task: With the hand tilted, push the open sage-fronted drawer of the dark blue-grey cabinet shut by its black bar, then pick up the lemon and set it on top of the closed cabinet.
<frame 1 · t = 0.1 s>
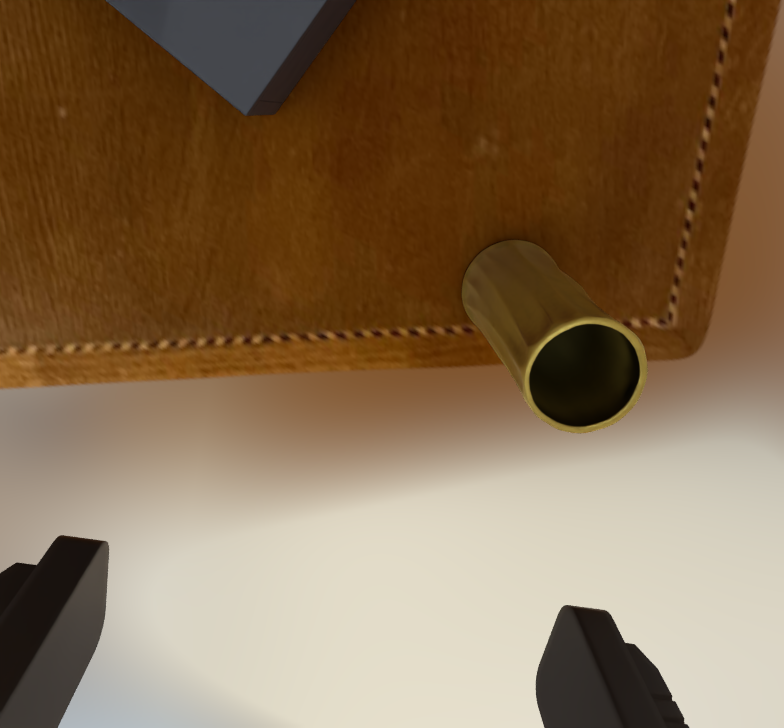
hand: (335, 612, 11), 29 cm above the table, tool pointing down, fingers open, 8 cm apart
vase: (509, 287, 40), on the table
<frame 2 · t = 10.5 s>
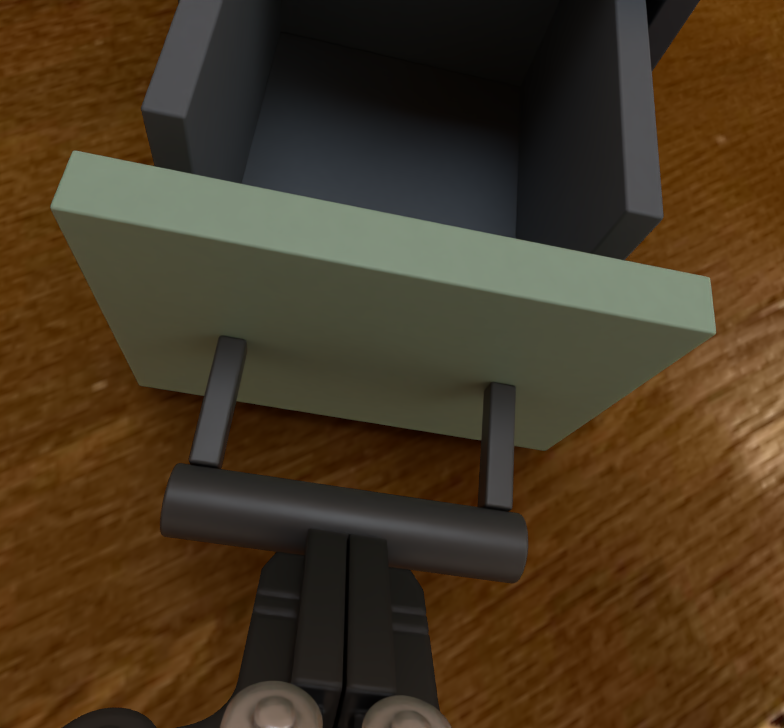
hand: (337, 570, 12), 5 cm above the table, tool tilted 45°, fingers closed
drawer: (392, 197, 16), point 5 cm above the table, slide at 7.9 cm, touching gripper
cabinet: (402, 36, 25), on the table
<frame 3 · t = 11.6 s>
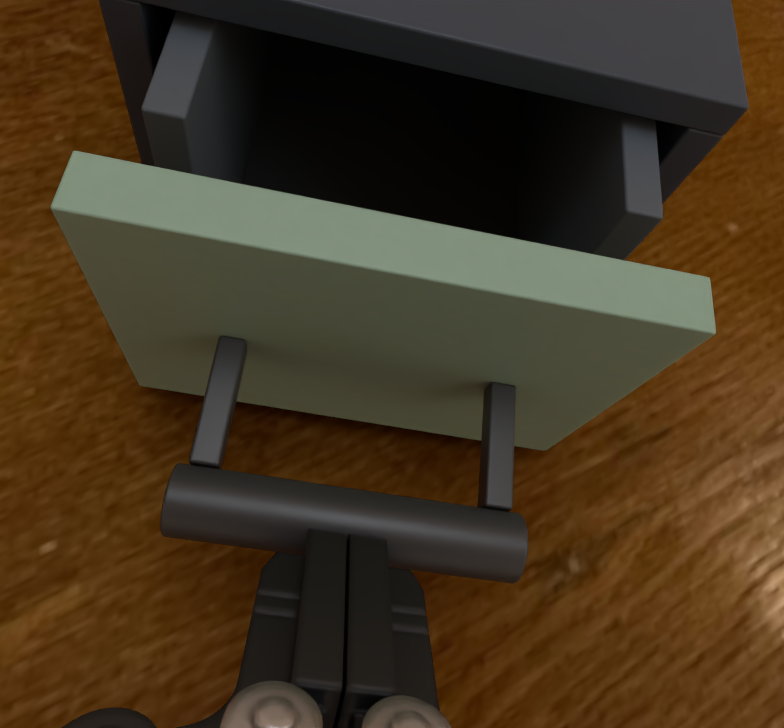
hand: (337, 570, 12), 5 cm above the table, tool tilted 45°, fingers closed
drawer: (392, 197, 16), point 5 cm above the table, slide at 3.5 cm, touching gripper
cabinet: (390, 120, 24), on the table
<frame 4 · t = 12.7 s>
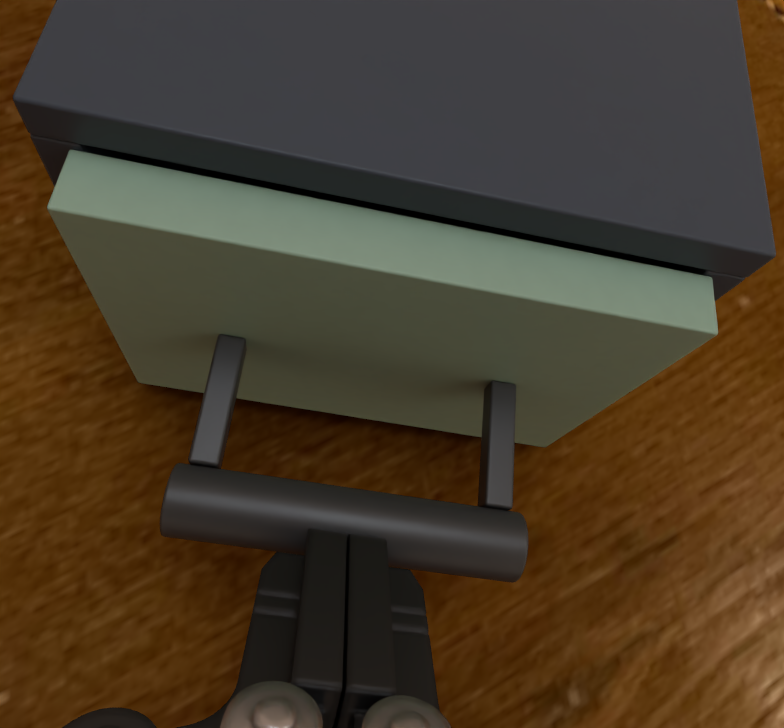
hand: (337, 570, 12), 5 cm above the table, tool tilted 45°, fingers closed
drawer: (392, 193, 16), point 5 cm above the table, slide at 0.0 cm, touching cabinet, gripper
cabinet: (379, 189, 22), on the table
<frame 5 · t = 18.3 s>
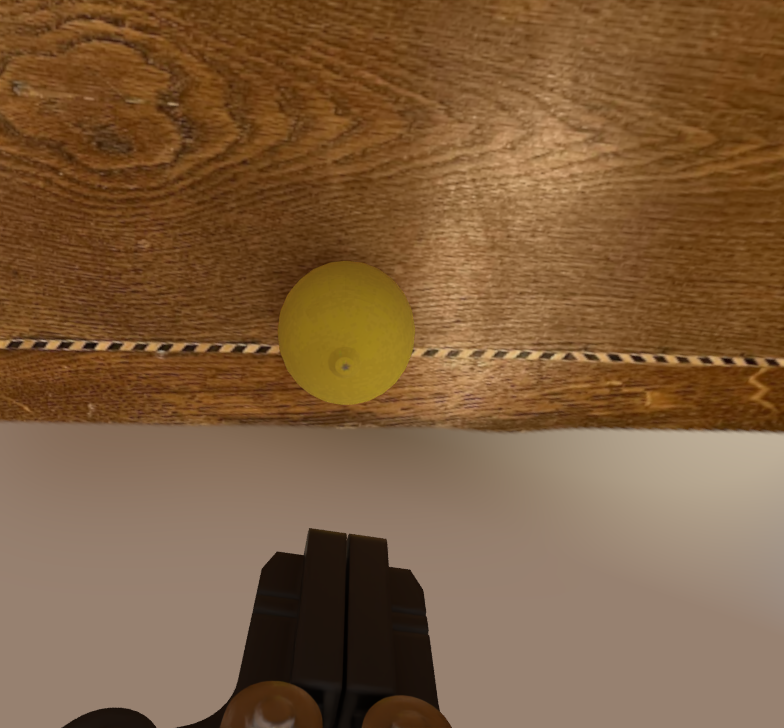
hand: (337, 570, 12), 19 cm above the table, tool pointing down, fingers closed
lemon: (348, 302, 30), on the table
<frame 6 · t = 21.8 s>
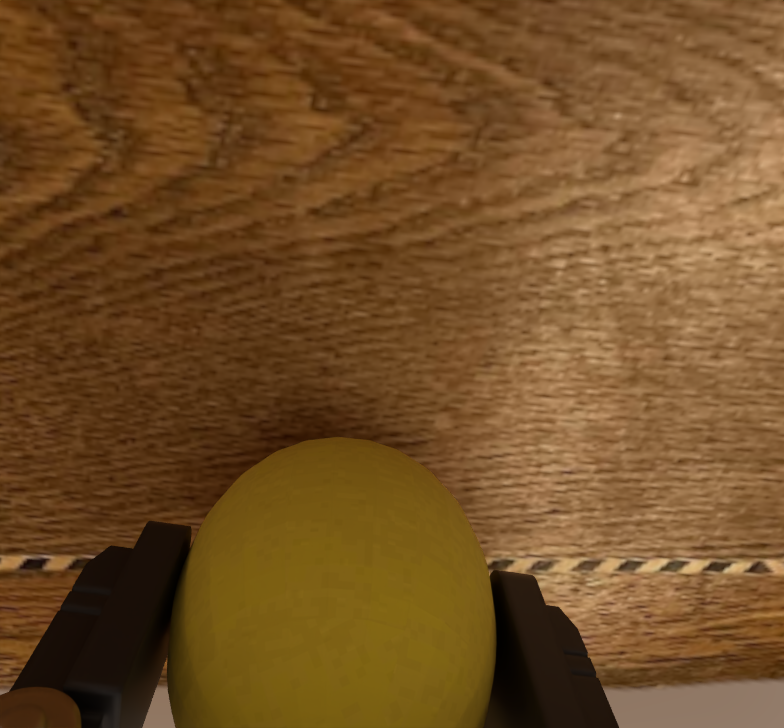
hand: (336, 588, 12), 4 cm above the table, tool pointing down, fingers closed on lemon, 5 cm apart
lemon: (342, 479, 15), on the table, touching gripper
when the fingers open (13 cm above the table, at t = 29.6 s): lemon stays where it is, resting on cabinet.
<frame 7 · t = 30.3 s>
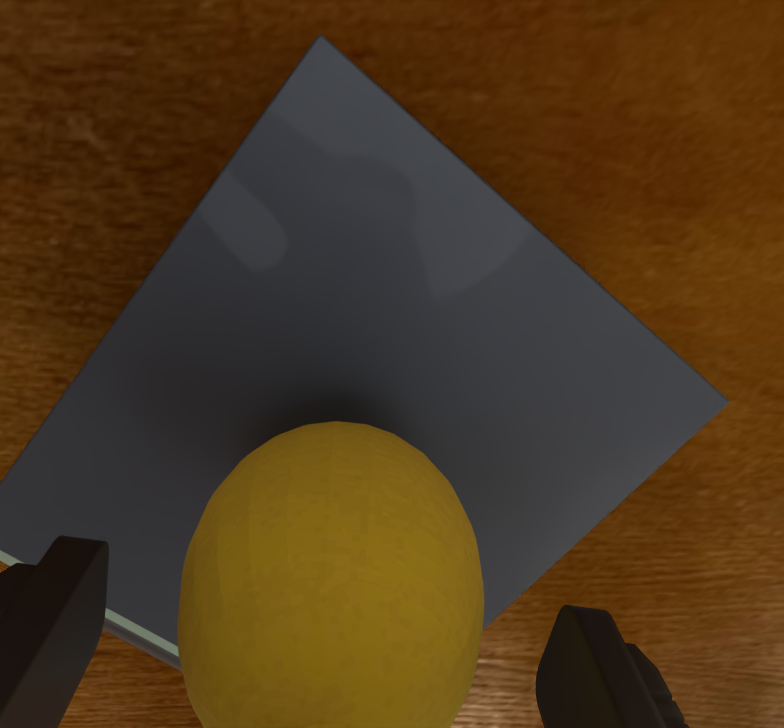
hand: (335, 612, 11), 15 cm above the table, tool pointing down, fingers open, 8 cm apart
lemon: (341, 465, 16), point 9 cm above the table, touching cabinet
drawer: (275, 473, 21), point 5 cm above the table, slide at 0.0 cm
cabinet: (349, 340, 25), on the table
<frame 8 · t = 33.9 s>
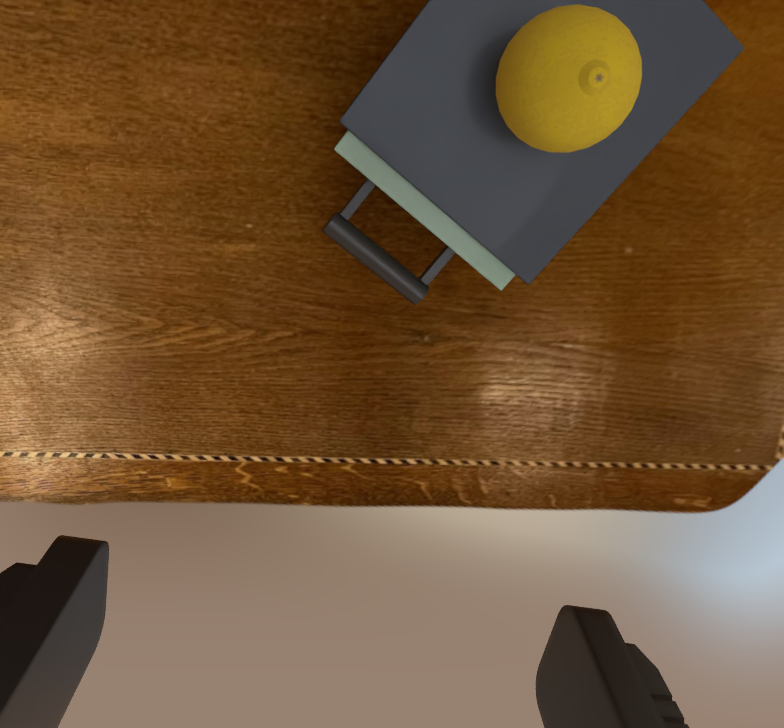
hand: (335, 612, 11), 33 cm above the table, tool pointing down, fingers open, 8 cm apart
lemon: (538, 85, 30), point 9 cm above the table, touching cabinet
drawer: (469, 146, 36), point 5 cm above the table, slide at 0.0 cm
cabinet: (499, 90, 39), on the table
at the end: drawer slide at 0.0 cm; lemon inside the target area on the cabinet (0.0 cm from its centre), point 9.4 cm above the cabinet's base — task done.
